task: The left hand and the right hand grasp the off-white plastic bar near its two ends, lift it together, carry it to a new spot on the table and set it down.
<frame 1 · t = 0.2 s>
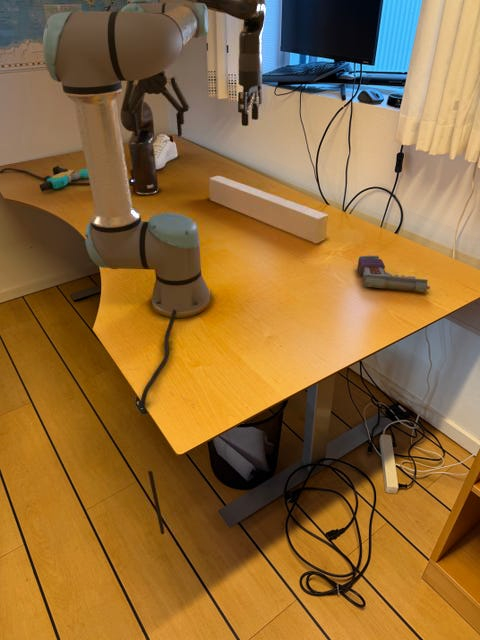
left hand: (250, 122, 159), 30 cm above the table, tool pointing down, fingers open, 8 cm apart
right hand: (158, 135, 149), 30 cm above the table, tool pointing down, fingers open, 13 cm apart
toy gun 2: (58, 183, 199), on the table
bar: (262, 217, 169), on the table
toy gun: (390, 280, 133), on the table
sneaker: (158, 164, 218), on the table
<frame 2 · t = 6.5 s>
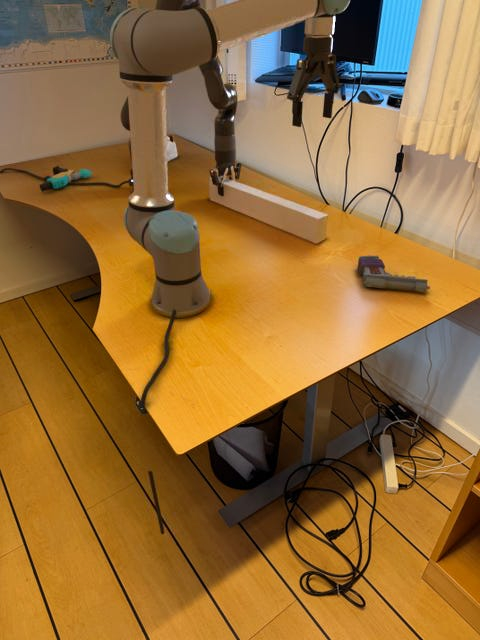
left hand: (226, 193, 177), 4 cm above the table, tool pointing down, fingers closed on bar, 4 cm apart
right hand: (312, 121, 136), 36 cm above the table, tool pointing down, fingers open, 13 cm apart
bar: (262, 217, 169), on the table, touching left hand
everything else where it was.
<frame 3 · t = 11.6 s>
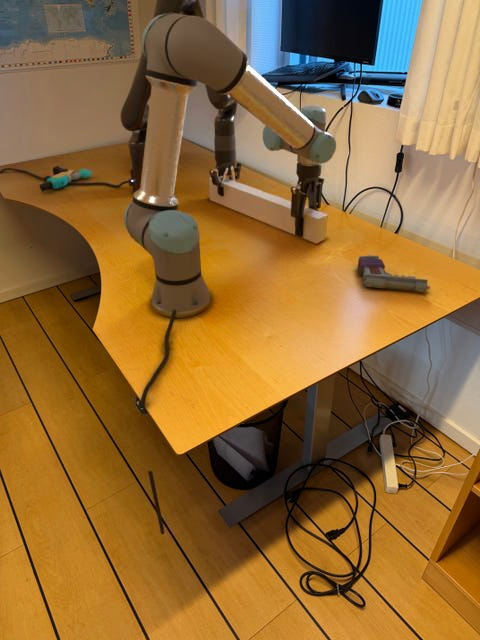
left hand: (226, 193, 177), 4 cm above the table, tool pointing down, fingers closed on bar, 4 cm apart
right hand: (304, 232, 157), 1 cm above the table, tool pointing down, fingers closed on bar, 5 cm apart
bar: (262, 217, 169), on the table, touching right hand, left hand
everything else where it was.
when the right hand's fingers open (2 cm above the table, at t = 25.7 s): bar drops 1 cm, on the table.
when the left hand's fingers open (5 cm above the table, at t = 25.9 s): bar stays where it is, on the table.
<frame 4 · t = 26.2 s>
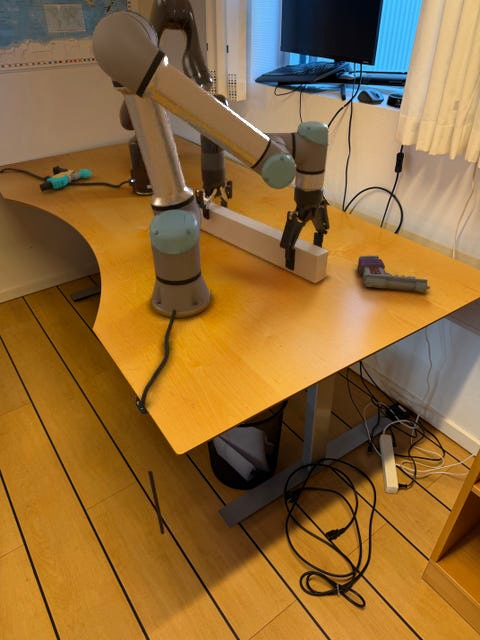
left hand: (215, 215, 157), 6 cm above the table, tool pointing down, fingers open, 7 cm apart
right hand: (303, 261, 135), 4 cm above the table, tool pointing down, fingers open, 11 cm apart
bar: (254, 249, 149), on the table
everything else where it was.
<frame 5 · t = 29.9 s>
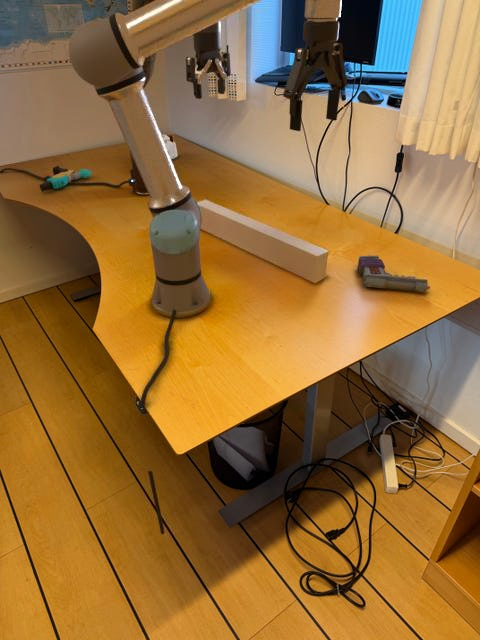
left hand: (210, 96, 135), 42 cm above the table, tool pointing down, fingers open, 8 cm apart
right hand: (313, 124, 114), 41 cm above the table, tool pointing down, fingers open, 13 cm apart
nothing on the table moved.
at the end: bar inside the target area (0.6 cm from its centre), on the table; bar tilted 0°; bar never tilted more than 2° during the clip; both hands held the bar at the same time; the left hand is holding nothing; the right hand is holding nothing; bar at rest at the end (0.0 cm/s) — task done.
